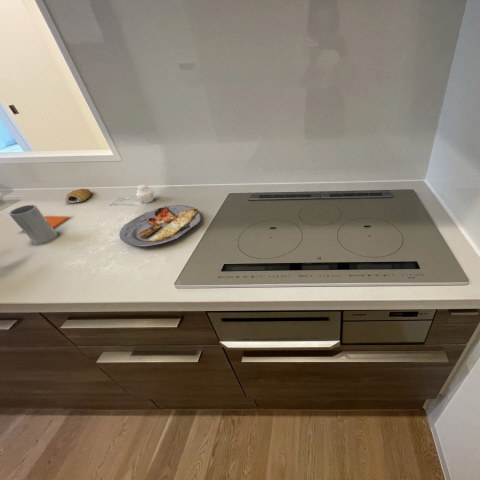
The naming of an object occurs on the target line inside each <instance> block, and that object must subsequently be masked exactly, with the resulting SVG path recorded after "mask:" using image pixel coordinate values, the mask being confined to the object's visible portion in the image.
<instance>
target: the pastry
mask: <svg viewBox="0 0 480 480" xmlns="http://www.w3.org/2000/svg"><path fill="white" fill-rule="evenodd" d="M91 195H92V192H91V190H90V189H89V188H80V189H76V190H72V191H70V192H68V193H66V196H65V202H66V203H68V204H75V203H82V202H84V201H86V200H87V199H89V198H90V196H91Z"/></svg>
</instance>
